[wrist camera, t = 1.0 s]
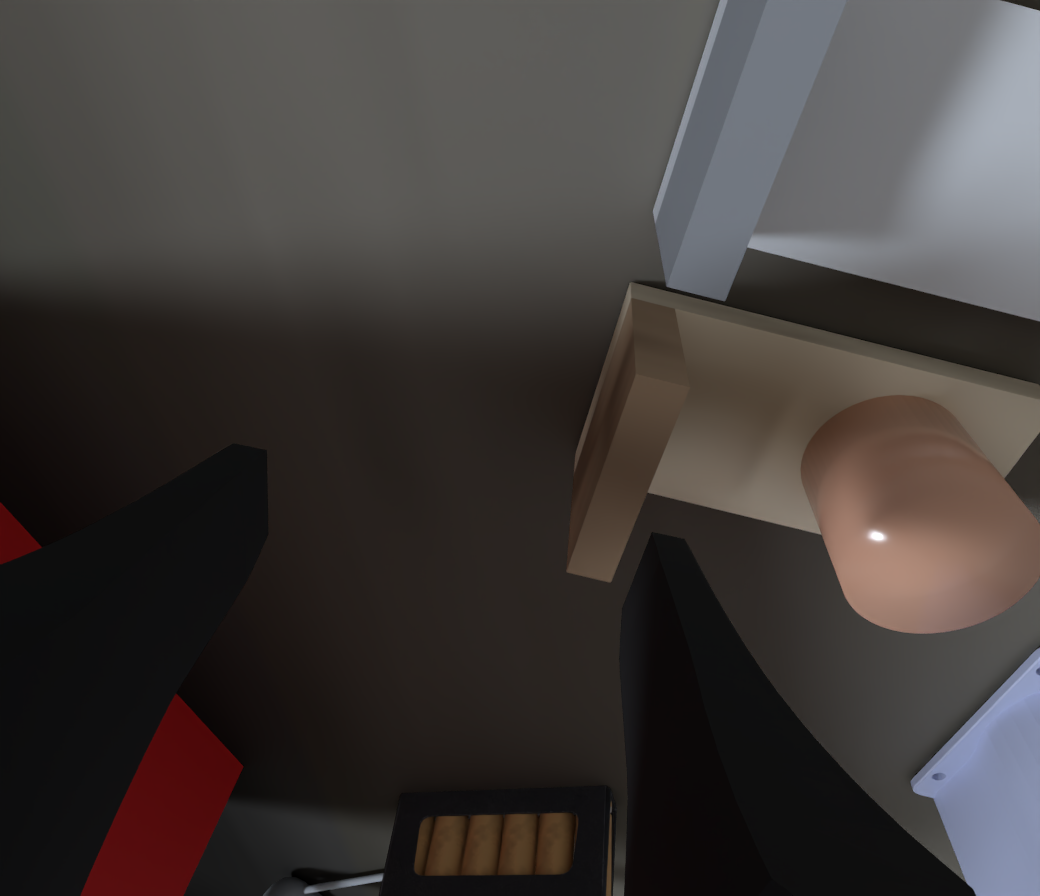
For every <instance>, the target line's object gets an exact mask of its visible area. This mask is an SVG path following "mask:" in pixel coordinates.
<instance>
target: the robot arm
mask: <svg viewBox="0 0 1040 896" xmlns="http://www.w3.org/2000/svg"><path fill="white" fill-rule="evenodd" d="M267 536H268V493H267V450H262V449H258V448H253V447H248V446H244V445H239V444H232V445H230V446H228V447H227V448H225V449H223V450H221V451H220V452H218V453H216V454H215V455H213V456H211V457H210V458H208V459H207V460H205V461H203V462H202V463H200V464H198V465H197V466H195V467H193V468H192V469H190V470H188V471H187V472H185V473H183V474H182V475H180V476H178V477H177V478H175V479H173V480H172V481H170V482H168V483H167V484H165V485H163V486H161V487H160V488H158V489H156V490H155V491H153V492H151V493H149V494H148V495H146V496H144V497H142V498H141V499H139V500H137V501H135V502H133V503H131V504H130V505H128V506H126V507H124V508H122V509H120V510H118V511H116V512H114V513H112V514H110V515H109V516H107V517H105V518H103V519H101V520H99V521H97V522H95V523H93V524H91V525H90V526H88V527H86V528H84V529H82V530H79V531H77V532H75V533H73V534H71V535H69V536H67V537H65V538H62V539H60V540H58V541H56V542H54V543H51V544H49V545H47V546H44V547H42V548H40V549H37V550H35V551H33V552H30V553H28V554H26V555H23V556H21V557H18V558H16V559H13V560H11V561H8V562H6V563H3V564H0V896H81V893H82V891H83V889H84V886H85V884H86V881H87V879H88V877H89V874H90V872H91V870H92V867H93V865H94V863H95V861H96V858H97V856H98V854H99V852H100V849H101V847H102V845H103V843H104V841H105V838H106V836H107V834H108V832H109V829H110V827H111V825H112V823H113V821H114V818H115V816H116V814H117V812H118V809H119V807H120V805H121V803H122V801H123V799H124V797H125V795H126V792H127V790H128V788H129V786H130V784H131V782H132V780H133V778H134V776H135V774H136V771H137V769H138V767H139V765H140V763H141V761H142V759H143V757H144V755H145V753H146V751H147V749H148V747H149V745H150V743H151V741H152V739H153V737H154V735H155V733H156V731H157V729H158V727H159V725H160V723H161V721H162V719H163V717H164V715H165V713H166V711H167V709H168V707H169V705H170V703H171V701H172V700H173V698H174V696H175V694H176V693H177V691H178V689H179V687H180V686H181V684H182V682H183V681H184V679H185V677H186V676H187V674H188V673H189V671H190V670H191V668H192V667H193V665H194V663H195V662H196V660H197V659H198V657H199V656H200V654H201V652H202V651H203V649H204V648H205V646H206V645H207V643H208V641H209V640H210V638H211V637H212V635H213V634H214V632H215V631H216V629H217V627H218V626H219V624H220V623H221V621H222V620H223V618H224V616H225V615H226V613H227V612H228V610H229V609H230V607H231V605H232V604H233V602H234V601H235V599H236V597H237V596H238V594H239V593H240V591H241V589H242V588H243V586H244V584H245V583H246V581H247V579H248V577H249V575H250V573H251V571H252V569H253V567H254V565H255V563H256V560H257V558H258V556H259V554H260V552H261V549H262V547H263V545H264V543H265V540H266V538H267ZM619 660H620V677H621V693H622V708H623V722H624V736H625V750H626V764H627V789H628V806H627V839H626V865H625V888H624V896H1040V647H1039V648H1038V649H1037V650H1035V651H1034V652H1033V653H1032V654H1031V655H1030V657H1029V658H1028V659H1027V660H1026V661H1025V662H1024V663H1023V664H1022V665H1021V666H1020V667H1019V668H1018V669H1017V670H1016V671H1015V672H1014V673H1013V674H1012V675H1011V676H1010V677H1009V678H1008V679H1007V680H1006V682H1005V683H1004V684H1003V685H1002V686H1001V687H1000V688H999V689H998V690H997V691H996V692H995V693H994V694H993V695H992V696H991V697H990V698H989V699H988V700H987V701H986V702H985V703H984V704H983V705H982V707H981V708H980V709H979V710H978V711H977V712H976V713H975V714H974V715H973V716H972V717H971V718H970V719H969V720H968V721H967V722H966V723H965V724H964V725H963V726H962V727H961V728H960V729H959V730H958V732H957V733H956V734H955V735H954V736H953V737H952V738H951V739H950V740H949V741H948V742H947V743H946V744H945V745H944V746H943V747H942V748H941V749H940V750H939V751H938V752H937V753H936V754H935V755H934V757H933V758H932V759H931V760H930V761H929V762H928V763H927V764H926V765H925V766H924V767H923V768H922V769H921V770H920V771H919V772H918V773H917V774H916V775H915V776H914V777H913V778H912V780H911V786H912V789H913V791H914V792H915V793H916V794H919V795H922V796H926V797H931V798H934V801H935V804H936V806H937V809H938V811H939V814H940V816H941V819H942V821H943V824H944V826H945V829H946V832H947V834H948V837H949V839H950V842H951V844H952V847H953V849H954V852H955V854H956V857H957V859H958V862H959V864H960V867H961V869H962V872H963V875H964V877H965V880H966V882H967V883H966V882H964V881H963V880H962V879H961V878H960V877H959V876H957V875H956V874H955V873H954V872H953V871H952V870H950V869H949V868H948V867H947V866H946V865H944V864H943V863H942V862H941V861H940V860H939V859H937V858H936V857H935V856H934V855H933V854H932V853H930V852H929V851H928V850H927V849H926V848H925V847H923V846H922V845H921V844H920V843H919V842H918V841H916V840H915V839H914V838H913V837H912V836H911V835H910V834H909V833H907V832H906V831H905V830H904V829H903V828H902V827H901V826H900V825H899V824H898V823H897V822H896V821H895V820H894V819H893V818H891V817H890V816H889V815H888V814H887V813H886V812H885V811H884V810H883V809H882V808H881V807H880V806H879V805H878V804H877V803H876V802H875V801H874V800H873V799H872V798H871V797H870V796H869V795H868V794H867V793H866V792H865V791H864V790H863V789H862V788H861V787H860V786H859V785H858V784H857V783H856V782H855V781H854V780H853V779H852V778H851V777H850V776H849V775H848V774H847V773H846V772H845V771H844V770H843V769H842V768H841V766H840V765H839V764H838V763H837V762H836V761H835V760H834V759H833V758H832V757H831V756H830V754H829V753H828V752H827V751H826V750H825V749H824V748H823V747H822V746H821V745H820V744H819V742H818V741H817V740H816V739H815V738H814V737H813V735H812V734H811V733H810V732H809V731H808V730H807V728H806V727H805V726H804V725H803V724H802V722H801V721H800V720H799V719H798V717H797V716H796V715H795V714H794V712H793V711H792V710H791V709H790V707H789V706H788V705H787V704H786V702H785V701H784V700H783V699H782V697H781V696H780V695H779V694H778V692H777V691H776V689H775V688H774V687H773V685H772V684H771V683H770V681H769V680H768V679H767V677H766V676H765V674H764V673H763V671H762V670H761V669H760V667H759V666H758V664H757V663H756V661H755V660H754V658H753V657H752V655H751V654H750V652H749V651H748V649H747V648H746V646H745V645H744V643H743V641H742V640H741V638H740V637H739V635H738V633H737V632H736V630H735V628H734V627H733V625H732V623H731V622H730V620H729V618H728V617H727V615H726V613H725V612H724V610H723V608H722V607H721V605H720V603H719V601H718V600H717V598H716V596H715V594H714V592H713V591H712V589H711V587H710V585H709V583H708V582H707V580H706V578H705V576H704V574H703V572H702V571H701V569H700V567H699V565H698V563H697V561H696V559H695V557H694V556H693V554H692V552H691V550H690V548H689V546H688V545H687V543H686V541H685V540H684V539H681V538H677V537H672V536H667V535H663V534H658V533H653V532H652V533H651V536H650V538H649V541H648V544H647V546H646V549H645V551H644V554H643V556H642V559H641V562H640V564H639V567H638V569H637V572H636V574H635V577H634V579H633V582H632V585H631V587H630V590H629V592H628V595H627V597H626V600H625V603H624V605H623V608H622V620H621V635H620V656H619Z"/></svg>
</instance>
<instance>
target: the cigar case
mask: <svg viewBox="0 0 1040 896" xmlns="http://www.w3.org/2000/svg"><path fill="white" fill-rule="evenodd" d="M616 813H617V809H616V805H615V802H614V798H613V795H612V792H611V789H609V788H608V787H607V786H584V787H557V788H530V789H504V790H477V791H450V792H424V793H402V794H401V795H400V799H399V803H398V808H397V813H396V817H395V822H394V827H393V831H392V836H391V841H390V845H389V850H388V855H387V859H386V864H385V869H384V873H383V878H382V883H381V887H380V892H379V896H613V878H614V857H615V835H616ZM574 835H575V848H574ZM536 855H537V856H536ZM573 855H574V859H573ZM535 866H536V868H535Z"/></svg>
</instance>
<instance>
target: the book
mask: <svg viewBox="0 0 1040 896" xmlns="http://www.w3.org/2000/svg"><path fill="white" fill-rule="evenodd" d="M40 548H42V547H41V546H40V545H39V544H38V543H37V541H36V540H35V539H34V538H33V537H32V536H31V535H30V534H29V533H28V532H27V531H26V529H25V528H24V527H23V526H22V525H21V524H20V523H19V522H18V521H17V520H16V519H15V518H14V516H13V515H12V514H11V513H10V512H9V511H8V510H7V509H6V508H5V507H4V506H3V504H2V503H1V502H0V564H3V563H6V562H8V561H11V560H13V559H16V558H18V557H21V556H23V555H26V554H28V553H30V552H33V551H35V550H37V549H40ZM243 767H244V766H243V765H242V764H241V763H240V762H239V761H238V760H237V759H236V758H235V757H234V756H233V754H232V753H231V752H230V751H229V750H228V749H227V748H226V747H225V746H224V745H223V744H222V742H221V741H220V740H219V739H218V738H217V737H216V736H215V735H214V734H213V733H212V732H211V731H210V729H209V728H208V727H207V726H206V725H205V724H204V723H203V722H202V721H201V720H200V719H199V718H198V716H197V715H196V714H195V713H194V712H193V711H192V710H191V709H190V708H189V707H188V706H187V704H186V703H185V702H184V701H183V700H182V699H181V698H180V697H179V696H178V695H177V694H175V696H174V698H173V700H172V701H171V703H170V705H169V707H168V709H167V711H166V713H165V715H164V717H163V719H162V721H161V723H160V725H159V727H158V729H157V731H156V733H155V735H154V737H153V739H152V741H151V743H150V745H149V747H148V749H147V751H146V753H145V755H144V757H143V759H142V761H141V763H140V765H139V767H138V769H137V771H136V774H135V776H134V778H133V780H132V782H131V784H130V786H129V788H128V790H127V792H126V795H125V797H124V799H123V801H122V803H121V805H120V807H119V809H118V812H117V814H116V816H115V818H114V821H113V823H112V825H111V827H110V829H109V832H108V834H107V836H106V838H105V841H104V843H103V845H102V847H101V849H100V852H99V854H98V856H97V858H96V861H95V863H94V865H93V867H92V870H91V872H90V874H89V877H88V879H87V881H86V884H85V886H84V889H83V891H82V893H81V896H183V895H184V892H185V890H186V888H187V886H188V884H189V882H190V880H191V878H192V875H193V873H194V871H195V869H196V867H197V865H198V863H199V860H200V858H201V856H202V854H203V852H204V850H205V848H206V846H207V843H208V841H209V839H210V837H211V835H212V833H213V831H214V829H215V826H216V824H217V822H218V820H219V818H220V816H221V814H222V811H223V809H224V807H225V805H226V803H227V801H228V799H229V797H230V794H231V792H232V790H233V788H234V786H235V784H236V782H237V780H238V777H239V775H240V773H241V771H242V769H243Z"/></svg>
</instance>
